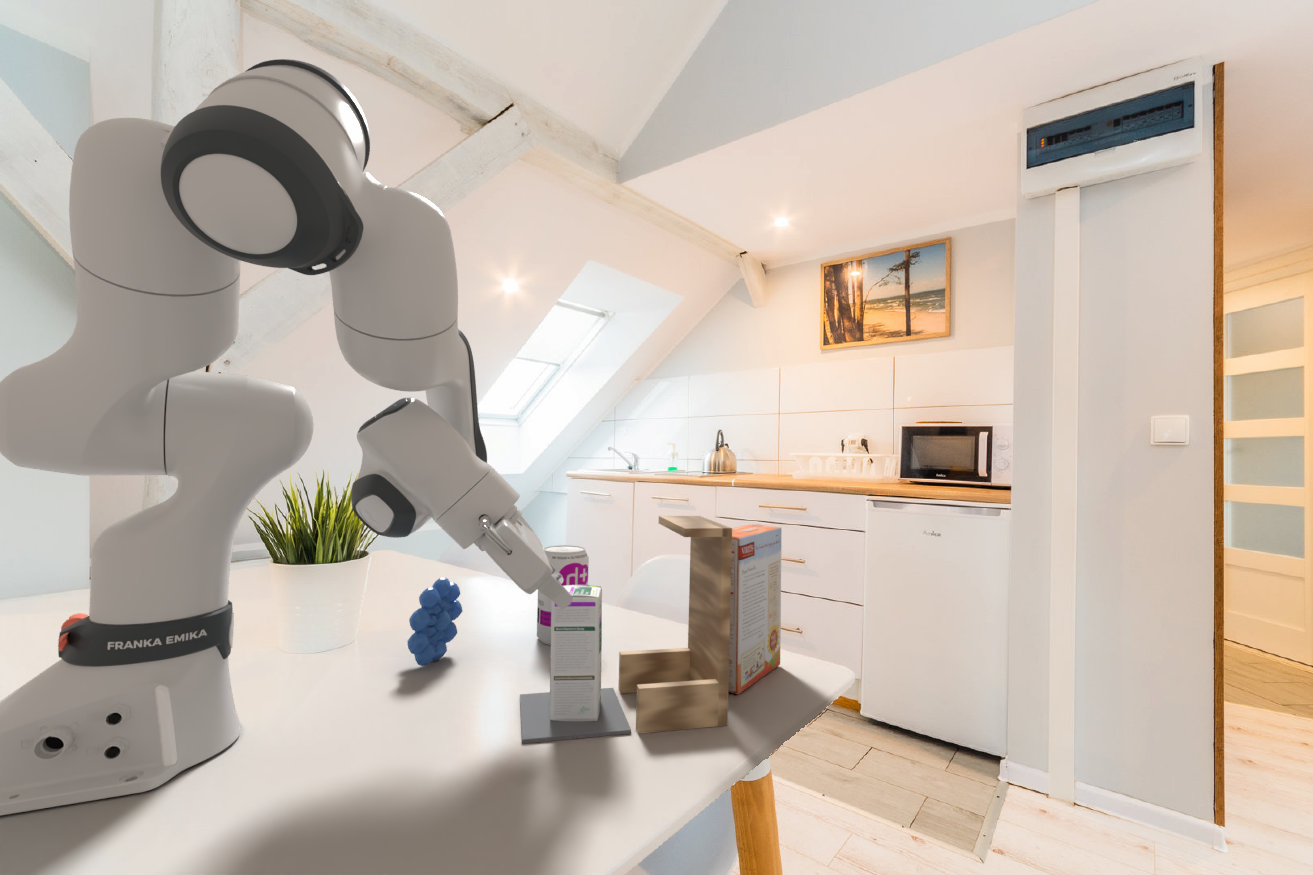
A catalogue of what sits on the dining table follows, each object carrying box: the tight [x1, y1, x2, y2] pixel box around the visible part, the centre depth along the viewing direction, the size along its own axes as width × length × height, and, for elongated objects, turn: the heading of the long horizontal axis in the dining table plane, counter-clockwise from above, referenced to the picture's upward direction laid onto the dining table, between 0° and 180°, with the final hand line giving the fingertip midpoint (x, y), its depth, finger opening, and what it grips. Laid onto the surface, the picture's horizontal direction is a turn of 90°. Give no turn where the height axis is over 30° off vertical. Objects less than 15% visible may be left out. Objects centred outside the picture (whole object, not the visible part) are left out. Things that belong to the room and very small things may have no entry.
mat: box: [519, 687, 632, 744], centre depth 72 cm, size 12×12×1 cm
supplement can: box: [536, 544, 590, 646], centre depth 100 cm, size 8×8×15 cm
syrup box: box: [549, 584, 603, 721], centre depth 72 cm, size 6×6×14 cm
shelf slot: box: [617, 515, 733, 734], centre depth 75 cm, size 11×12×23 cm
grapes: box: [407, 576, 463, 667], centre depth 88 cm, size 12×7×12 cm, turn 167°
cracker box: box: [728, 523, 782, 695], centre depth 86 cm, size 14×6×21 cm, turn 145°
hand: (563, 592), depth 72 cm, fingers open, 8 cm apart
